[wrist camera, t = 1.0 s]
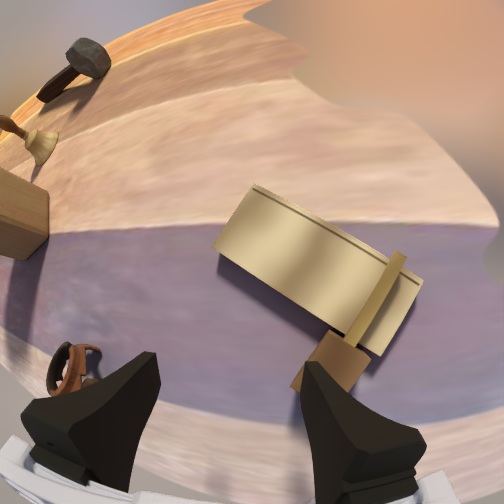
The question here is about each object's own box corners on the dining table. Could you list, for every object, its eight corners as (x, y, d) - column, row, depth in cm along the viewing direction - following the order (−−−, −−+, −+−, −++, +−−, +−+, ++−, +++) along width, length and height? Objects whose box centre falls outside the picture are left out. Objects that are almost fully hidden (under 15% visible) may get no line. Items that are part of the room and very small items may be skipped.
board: (416, 283, 21) (423, 280, 19) (376, 353, 21) (380, 356, 19) (259, 192, 27) (253, 182, 25) (219, 251, 27) (211, 246, 25)
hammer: (52, 112, 56) (107, 74, 43) (26, 95, 46) (73, 46, 33) (60, 99, 56) (117, 59, 44) (34, 82, 47) (85, 32, 34)
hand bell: (36, 173, 43) (-18, 143, 28) (36, 152, 45) (-12, 123, 30) (59, 144, 42) (4, 107, 27) (58, 125, 45) (10, 91, 30)
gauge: (406, 273, 21) (426, 262, 16) (331, 392, 21) (331, 413, 16) (374, 253, 23) (385, 236, 17) (299, 371, 22) (289, 386, 17)
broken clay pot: (88, 416, 28) (37, 394, 22) (106, 357, 33) (59, 330, 28) (137, 444, 22) (70, 425, 17) (158, 367, 28) (98, 335, 22)
